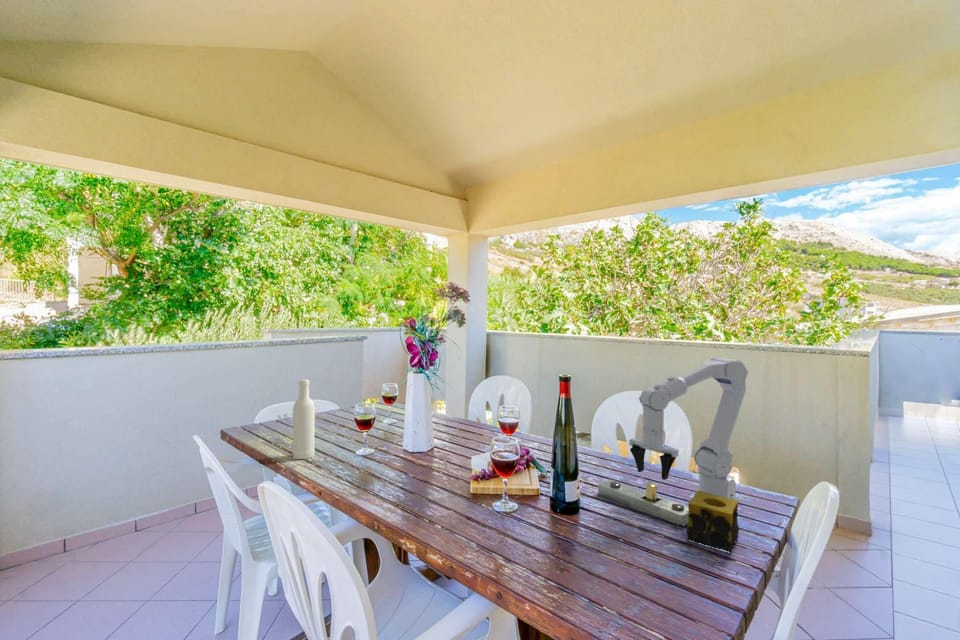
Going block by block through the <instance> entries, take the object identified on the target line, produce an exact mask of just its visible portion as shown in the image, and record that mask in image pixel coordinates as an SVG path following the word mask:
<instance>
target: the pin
mask: <svg viewBox="0 0 960 640" xmlns="http://www.w3.org/2000/svg"><path fill="white" fill-rule="evenodd" d="M645 492H646V500H647V501H649V502H652V503H656V502H657V496H658V485H657V484H655V483H651V482H647V483H646V484H645Z"/></svg>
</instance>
